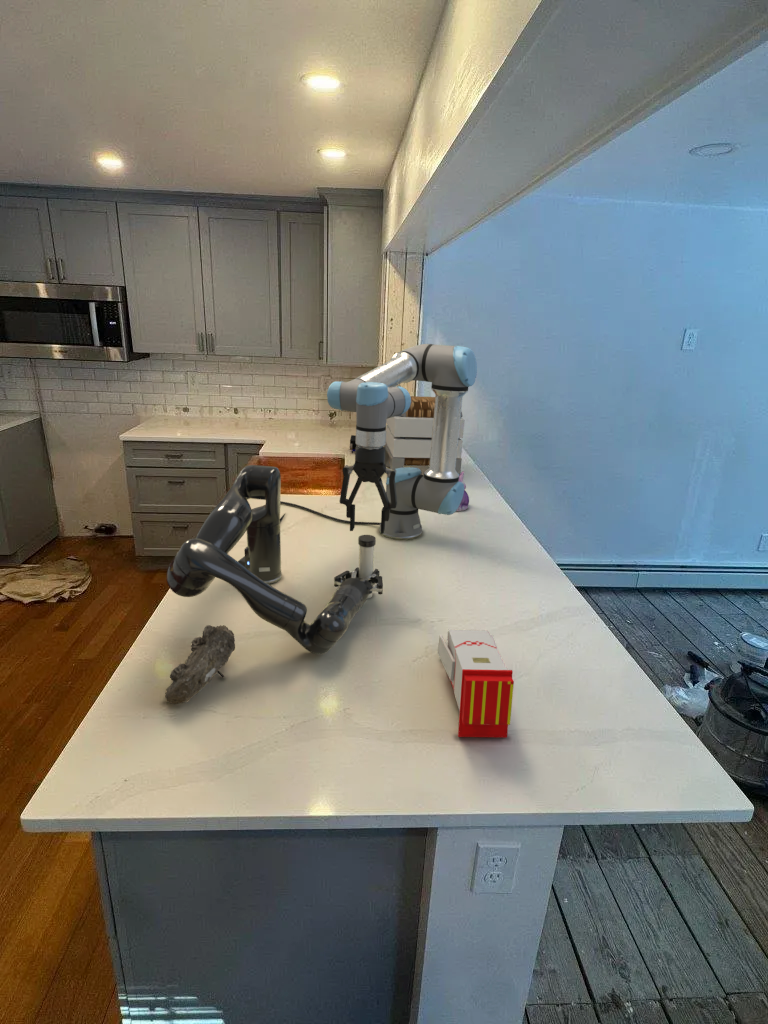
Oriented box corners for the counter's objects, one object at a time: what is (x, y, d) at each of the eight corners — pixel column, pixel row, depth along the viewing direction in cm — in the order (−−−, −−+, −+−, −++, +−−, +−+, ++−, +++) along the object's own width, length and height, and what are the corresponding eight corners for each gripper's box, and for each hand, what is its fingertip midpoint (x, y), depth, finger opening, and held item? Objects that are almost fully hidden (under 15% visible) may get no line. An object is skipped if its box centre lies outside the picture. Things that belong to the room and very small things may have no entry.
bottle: (375, 594, 157) (377, 539, 151) (366, 600, 154) (369, 543, 148) (363, 590, 159) (365, 535, 153) (354, 595, 156) (356, 539, 150)
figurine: (455, 513, 222) (459, 476, 217) (441, 505, 231) (444, 469, 226) (475, 510, 226) (479, 474, 221) (460, 502, 235) (464, 467, 230)
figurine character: (361, 456, 305) (361, 447, 319) (361, 443, 302) (362, 434, 315) (348, 456, 305) (350, 446, 318) (349, 442, 302) (350, 433, 315)
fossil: (189, 627, 129) (235, 597, 124) (218, 656, 132) (264, 627, 127) (143, 698, 109) (196, 665, 104) (179, 729, 112) (232, 699, 107)
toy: (488, 613, 130) (523, 677, 101) (484, 667, 133) (517, 744, 104) (435, 612, 130) (455, 676, 101) (432, 666, 133) (451, 743, 103)
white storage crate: (382, 463, 289) (386, 382, 275) (445, 464, 293) (451, 384, 279) (390, 482, 257) (394, 392, 243) (460, 483, 261) (468, 394, 247)
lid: (378, 543, 152) (379, 537, 151) (369, 548, 148) (369, 542, 148) (364, 539, 154) (364, 533, 154) (354, 544, 151) (355, 538, 150)
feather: (292, 507, 224) (294, 503, 223) (275, 531, 197) (278, 527, 197) (288, 505, 224) (291, 501, 223) (271, 528, 197) (273, 524, 197)
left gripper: (321, 607, 144) (344, 578, 160) (375, 616, 141) (393, 586, 156) (322, 580, 142) (345, 554, 157) (376, 590, 138) (394, 562, 154)
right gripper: (412, 445, 145) (407, 528, 152) (333, 439, 147) (332, 522, 155) (409, 452, 138) (404, 539, 145) (327, 446, 140) (326, 532, 148)
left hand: (368, 570), depth 157 cm, fingers closed on bottle, 4 cm apart
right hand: (367, 530), depth 150 cm, fingers open, 7 cm apart
